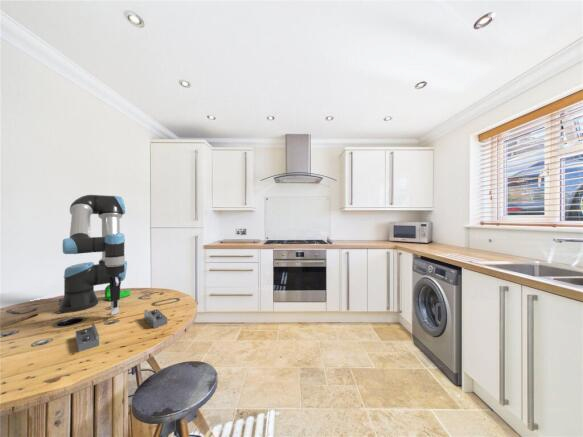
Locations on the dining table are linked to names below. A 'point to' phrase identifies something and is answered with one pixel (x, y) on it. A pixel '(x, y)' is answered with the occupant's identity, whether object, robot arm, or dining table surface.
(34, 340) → the dining table surface
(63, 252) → the robot arm
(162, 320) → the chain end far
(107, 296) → the mechanical part
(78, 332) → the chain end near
